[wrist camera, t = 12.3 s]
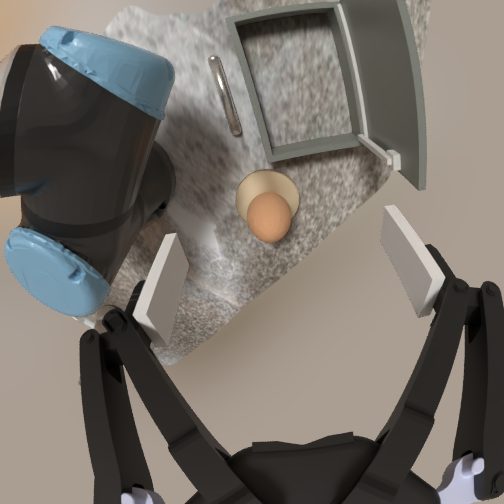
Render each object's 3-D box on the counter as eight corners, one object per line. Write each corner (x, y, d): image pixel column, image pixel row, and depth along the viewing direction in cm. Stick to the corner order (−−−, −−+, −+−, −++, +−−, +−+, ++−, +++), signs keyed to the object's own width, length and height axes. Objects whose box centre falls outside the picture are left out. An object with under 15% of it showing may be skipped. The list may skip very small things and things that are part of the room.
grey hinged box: (266, 154, 36) (274, 217, 22) (227, 23, 24) (204, -13, 11) (363, 137, 33) (425, 189, 20) (336, 6, 22) (395, -28, 9)
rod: (232, 134, 34) (231, 137, 33) (207, 56, 27) (205, 56, 26) (242, 132, 34) (242, 134, 33) (218, 53, 27) (216, 52, 26)
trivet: (245, 229, 43) (245, 233, 42) (228, 177, 38) (227, 181, 37) (302, 217, 42) (303, 221, 41) (291, 163, 36) (292, 166, 35)
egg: (252, 179, 37) (251, 209, 30) (292, 188, 37) (301, 219, 31) (244, 215, 40) (241, 250, 34) (282, 222, 41) (287, 258, 34)
